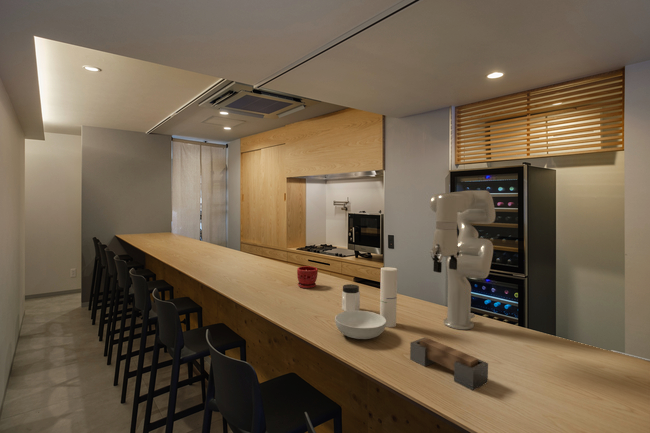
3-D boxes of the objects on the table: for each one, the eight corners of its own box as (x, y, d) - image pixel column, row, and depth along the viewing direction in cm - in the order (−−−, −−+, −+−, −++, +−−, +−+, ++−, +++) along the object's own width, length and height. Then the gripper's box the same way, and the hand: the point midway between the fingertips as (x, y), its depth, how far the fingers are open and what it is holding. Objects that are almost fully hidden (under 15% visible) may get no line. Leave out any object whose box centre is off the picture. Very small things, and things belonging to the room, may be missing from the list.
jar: (339, 307, 173) (339, 284, 173) (353, 306, 176) (353, 283, 176) (347, 313, 165) (347, 289, 164) (362, 311, 168) (362, 287, 168)
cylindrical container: (396, 327, 147) (397, 270, 145) (379, 326, 148) (380, 270, 147) (396, 322, 154) (397, 267, 152) (380, 320, 155) (381, 266, 154)
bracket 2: (487, 382, 103) (488, 363, 102) (472, 390, 98) (473, 370, 98) (468, 373, 108) (469, 355, 108) (453, 381, 103) (454, 362, 103)
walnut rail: (419, 354, 117) (419, 340, 116) (426, 351, 119) (427, 337, 119) (470, 378, 101) (470, 362, 101) (477, 374, 103) (478, 358, 103)
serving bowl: (373, 350, 125) (373, 332, 124) (325, 337, 136) (325, 320, 135) (393, 332, 142) (393, 315, 142) (349, 322, 153) (349, 307, 153)
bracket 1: (410, 359, 117) (410, 342, 117) (424, 353, 122) (425, 337, 122) (424, 366, 112) (425, 348, 112) (439, 360, 117) (439, 343, 117)
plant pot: (294, 288, 210) (294, 269, 210) (299, 283, 223) (299, 265, 223) (315, 289, 208) (315, 270, 208) (319, 284, 221) (319, 266, 221)
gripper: (451, 225, 138) (450, 266, 139) (423, 226, 128) (422, 271, 129) (468, 226, 132) (467, 269, 132) (440, 228, 122) (439, 275, 122)
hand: (445, 270), depth 131 cm, fingers open, 9 cm apart
